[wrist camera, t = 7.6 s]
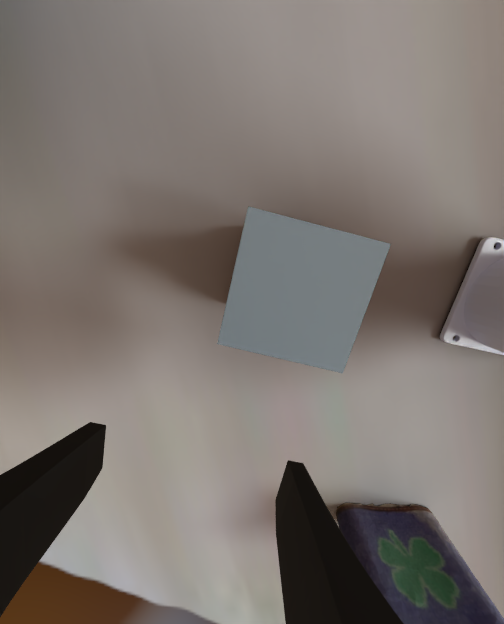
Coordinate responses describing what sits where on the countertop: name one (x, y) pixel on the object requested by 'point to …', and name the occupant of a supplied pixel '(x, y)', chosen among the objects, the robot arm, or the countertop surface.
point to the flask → (415, 565)
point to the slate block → (299, 290)
